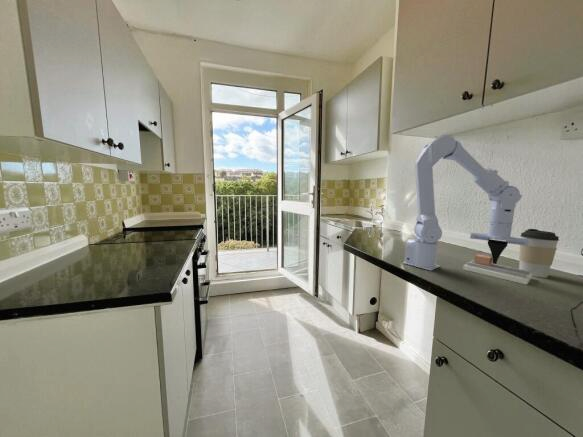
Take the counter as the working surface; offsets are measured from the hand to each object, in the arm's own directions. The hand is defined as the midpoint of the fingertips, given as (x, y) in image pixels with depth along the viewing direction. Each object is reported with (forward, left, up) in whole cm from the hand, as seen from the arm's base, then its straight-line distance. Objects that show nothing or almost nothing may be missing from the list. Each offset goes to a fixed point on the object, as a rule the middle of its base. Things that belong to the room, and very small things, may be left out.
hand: (494, 263), depth 79 cm
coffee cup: (+8, +12, -4) cm, 15 cm away
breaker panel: (+1, 0, -3) cm, 3 cm away
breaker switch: (-3, 0, -2) cm, 4 cm away
